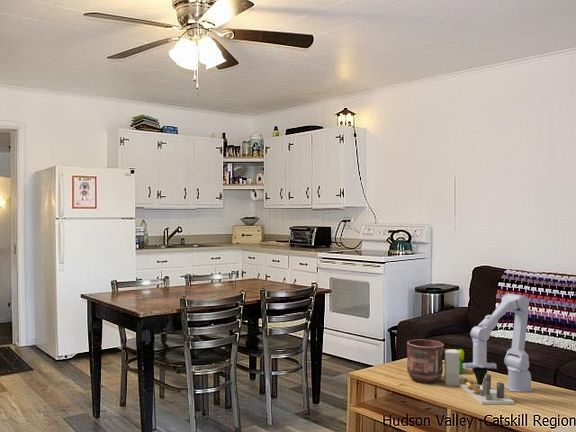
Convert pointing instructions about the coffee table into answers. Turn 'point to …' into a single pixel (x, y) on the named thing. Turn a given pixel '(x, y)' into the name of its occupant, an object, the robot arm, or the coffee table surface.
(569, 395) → the coffee table surface
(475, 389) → the block
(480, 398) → the breaker panel
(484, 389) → the paddle
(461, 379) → the paddle
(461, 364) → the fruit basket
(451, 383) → the skincare box
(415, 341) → the pottery
